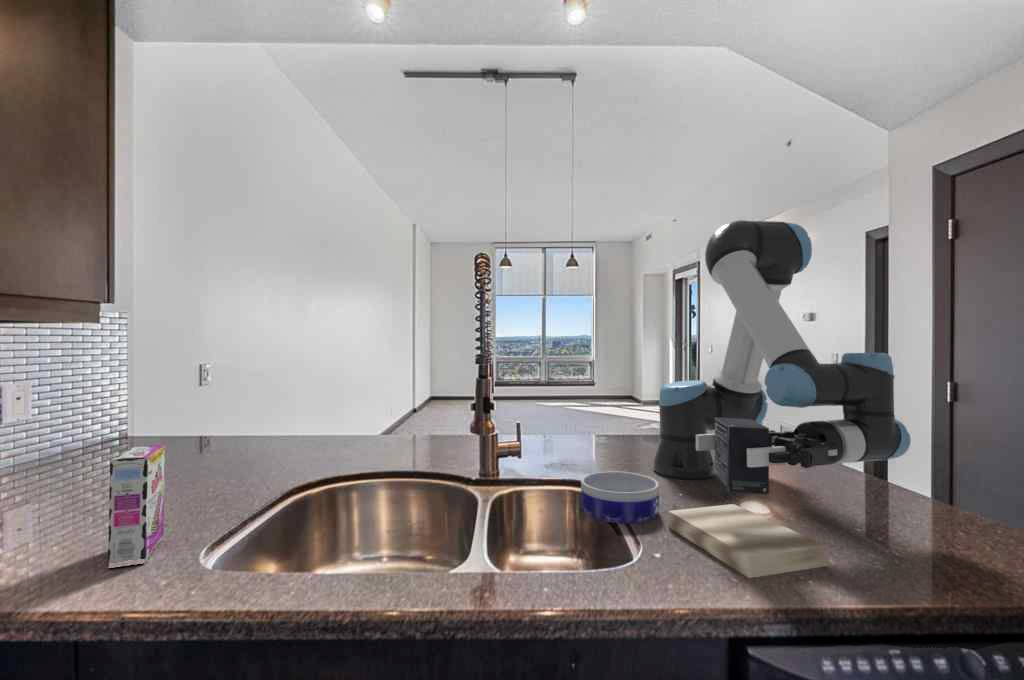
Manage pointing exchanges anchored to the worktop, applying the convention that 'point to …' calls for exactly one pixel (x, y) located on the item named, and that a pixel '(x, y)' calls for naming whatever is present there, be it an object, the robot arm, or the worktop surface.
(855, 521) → the worktop surface
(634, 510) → the dog bowl
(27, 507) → the worktop surface
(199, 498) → the worktop surface
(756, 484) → the small box
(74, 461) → the worktop surface
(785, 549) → the maple board
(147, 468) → the candy bar box
